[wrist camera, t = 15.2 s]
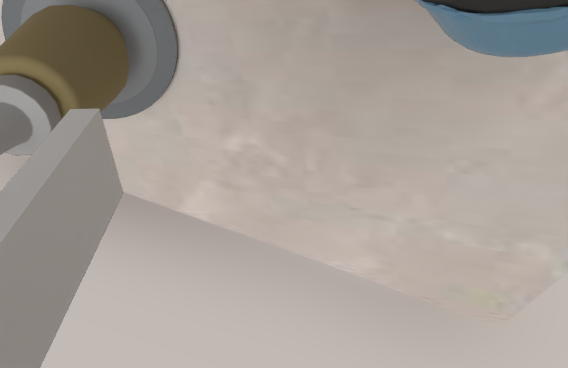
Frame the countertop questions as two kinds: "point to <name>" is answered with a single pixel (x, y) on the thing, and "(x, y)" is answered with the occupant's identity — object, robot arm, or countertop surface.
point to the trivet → (138, 39)
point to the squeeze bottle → (57, 72)
